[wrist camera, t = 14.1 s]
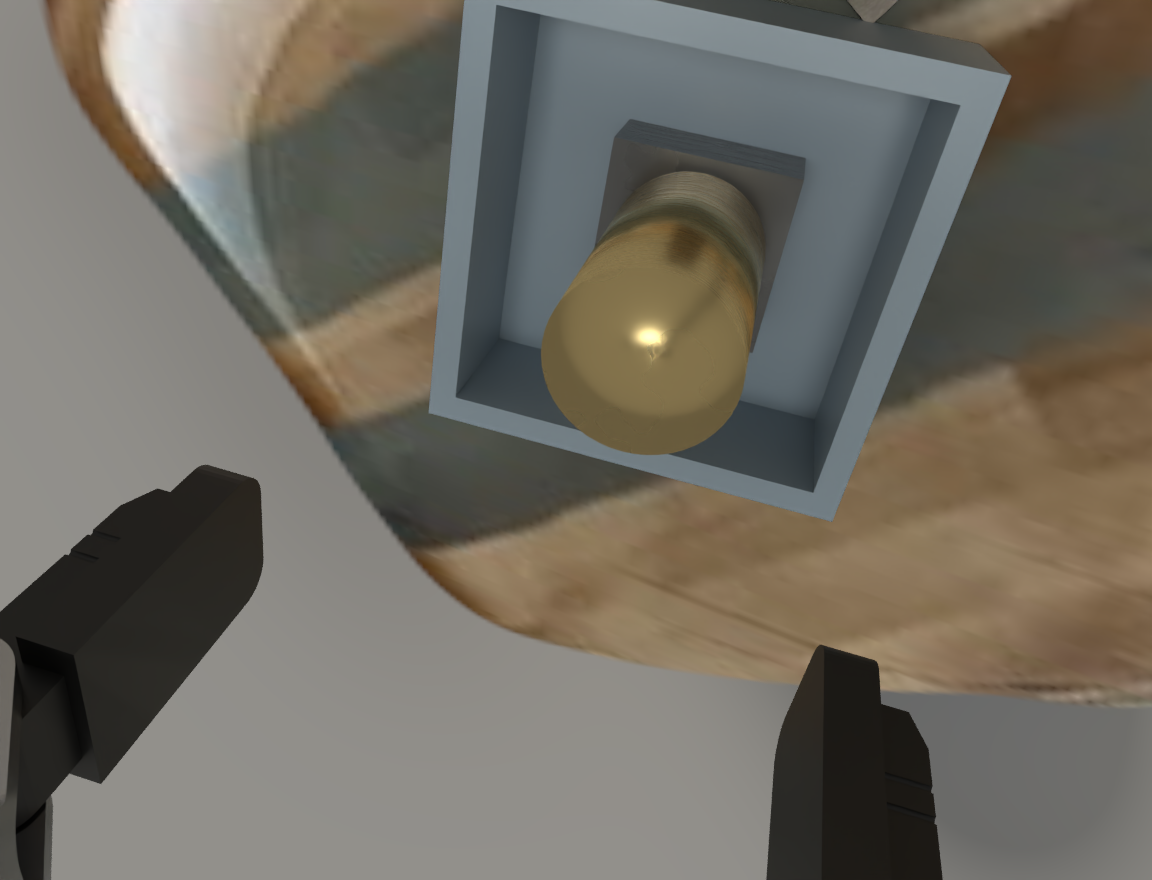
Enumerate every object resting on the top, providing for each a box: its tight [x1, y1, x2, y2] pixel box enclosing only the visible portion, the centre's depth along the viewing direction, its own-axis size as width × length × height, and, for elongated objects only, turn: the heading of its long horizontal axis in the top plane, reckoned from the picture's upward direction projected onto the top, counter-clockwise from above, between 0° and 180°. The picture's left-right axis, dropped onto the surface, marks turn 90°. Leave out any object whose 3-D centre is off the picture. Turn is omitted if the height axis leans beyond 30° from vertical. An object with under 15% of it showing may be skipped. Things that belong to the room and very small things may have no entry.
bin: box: [429, 0, 1011, 522], centre depth 26 cm, size 13×13×5 cm
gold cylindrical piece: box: [541, 119, 806, 455], centre depth 24 cm, size 5×5×10 cm
